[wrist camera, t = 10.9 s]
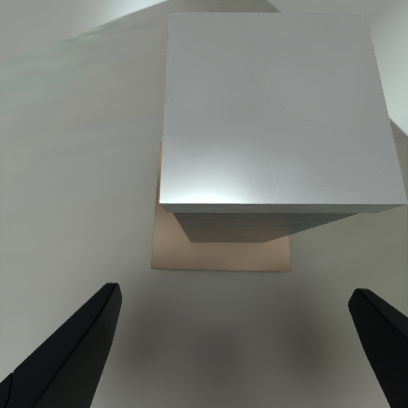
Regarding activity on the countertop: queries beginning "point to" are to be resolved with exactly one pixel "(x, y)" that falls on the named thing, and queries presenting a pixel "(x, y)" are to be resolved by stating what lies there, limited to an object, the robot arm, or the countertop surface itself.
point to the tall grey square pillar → (273, 125)
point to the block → (211, 248)
